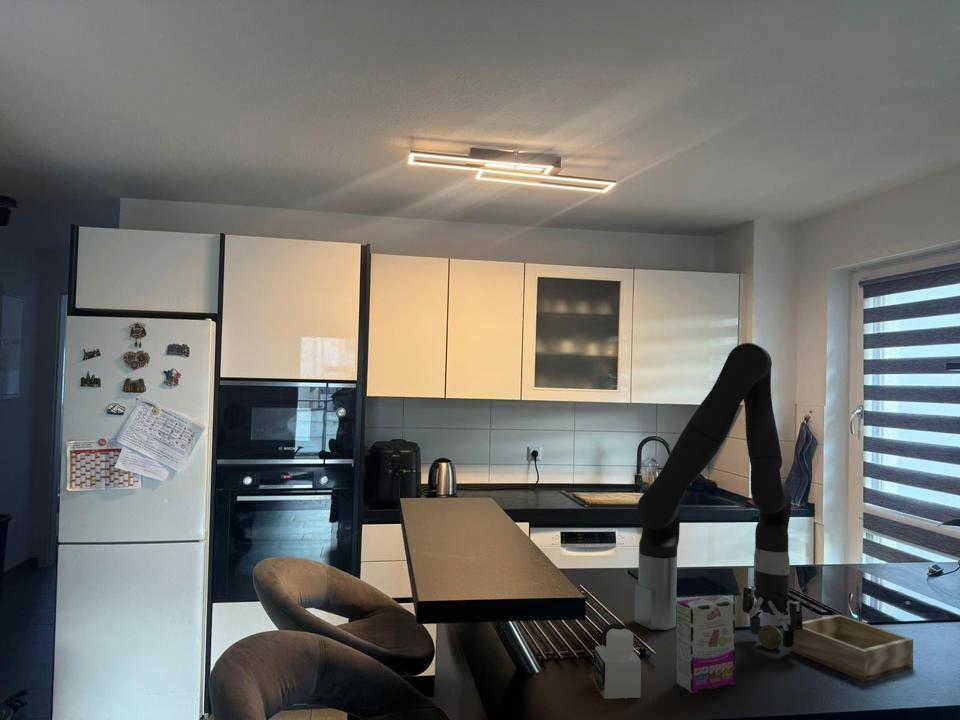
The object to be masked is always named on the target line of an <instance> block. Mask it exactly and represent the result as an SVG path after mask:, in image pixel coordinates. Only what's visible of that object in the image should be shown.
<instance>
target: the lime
mask: <svg viewBox="0 0 960 720" xmlns="http://www.w3.org/2000/svg"><path fill="white" fill-rule="evenodd" d="M758 640H759V643H760V644H761V646H763V647H764V649H765V648H766V649H768V650H771V649H772V650H773V649H777V648H779V647H780V645H781V644H782V643H783V634H782V632H781V631H780V630H779V628H778V627H776V626H774V625H772V624H766V625H763V626H761V627H760V631H759V634H758Z"/></svg>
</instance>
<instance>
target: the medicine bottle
mask: <svg viewBox="0 0 960 720" xmlns="http://www.w3.org/2000/svg"><path fill="white" fill-rule="evenodd" d="M601 634H602V635H601V646H600V645H599V646H598V645H597V646H595V648H594V674H593V675H594V676H593V677H594V679H593V680H594V684H595V685H596V688H597V689H598V691H599V693H600V694H601V696H602V698H603V699H605V700H613V699H616V700H617V699H618V700H619V699H620V698H621V699H622V698H625V700H627V698H639V699H641V693H642V692H641V691H642V690H641V689H642V686H641V684H642V683H641V681H642V680H641V678H642V676H641V675H642V661H641V659H640V658H639V656H638V655H637V654H636V652H635V651H634V650H635V647H634V646H635V632H634V630H633V629H632V628H631V627H629V626H628V625H626V624H625V625H624V624H619V623H611V624H607V625H605V626H603V628H602V629H601Z"/></svg>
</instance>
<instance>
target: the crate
mask: <svg viewBox="0 0 960 720" xmlns="http://www.w3.org/2000/svg"><path fill="white" fill-rule="evenodd" d="M802 624H803V628H802V629H800V630H796V631H794V644H793V645H792V646H791V647H790V652H791V653H795V654H798V655H799V656H802V657H804V658H807V659H809V660H811V661H814V662H816V663H819V664H821V665H823V666H825V667H828V668H830V669H833V670H835V671H838V672H840V673H843V674H845V675H847V676H850V677H851V678H855V679H857V680H860V681H862V682H863V683H866V682H868V681H872V680H876V679H879V678H882V677H886V676H889V675H893V674H896V673H900V672H903V671H906V670H909V669H913V668H914V639H913V638H910V637H906V636H904V635H901V634H898V633H895V632H893V631H890V630H887V629H883V628H881V627H878V626H875V625H872V624H869V623H867V622H863V621H860V620H857V619H853V618H852V617H848V616H846V615H845V616H844V615H842V614H840V613H839V614H833V615H828V616H824V617H820V618H814V619H809V620H805V621H802Z"/></svg>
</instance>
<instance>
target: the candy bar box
mask: <svg viewBox="0 0 960 720" xmlns="http://www.w3.org/2000/svg"><path fill="white" fill-rule="evenodd" d="M735 602H736V601H734V600H731V599H729V598H727V597H724V596H722V595H718V594H717V595H711V596H702V597H697V598H696V597H695V598H690V599H683V600H681V599H680V600H676V626H675V627H676V628H675V629H676V633H675V634H676V639H675V640H676V644H675V645H676V647H675V648H676V657H675V658H676V665H675V667H676V673H675V675H676V676H675V677H676V679H675V680H676V681H675V682H676V684H677V685H678V686H679V687H681V688H683V689H684V690H686V691H687V692H689V693H691V694H695V693H701V692H706V691H711V690H716V689H721V688H725V687H728V686H729V687H730V686H734V685H735V684H736V664H735V663H736V643H735V642H736V641H735V640H736V636H735V635H736V634H735V633H736V624H735V622H736V618H735V617H736V611H735V610H736V608H735V607H736V606H735V604H736V603H735Z"/></svg>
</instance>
